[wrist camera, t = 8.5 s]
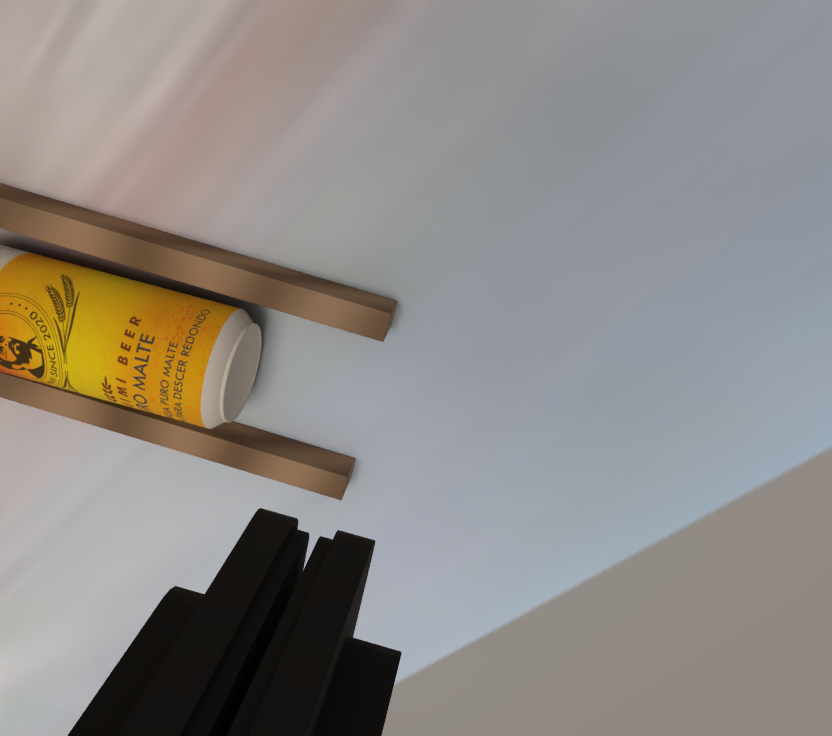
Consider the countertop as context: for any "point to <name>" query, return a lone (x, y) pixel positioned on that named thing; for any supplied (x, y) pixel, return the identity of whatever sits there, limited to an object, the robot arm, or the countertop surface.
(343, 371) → the countertop surface
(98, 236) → the u rest
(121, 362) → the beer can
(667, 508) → the countertop surface
